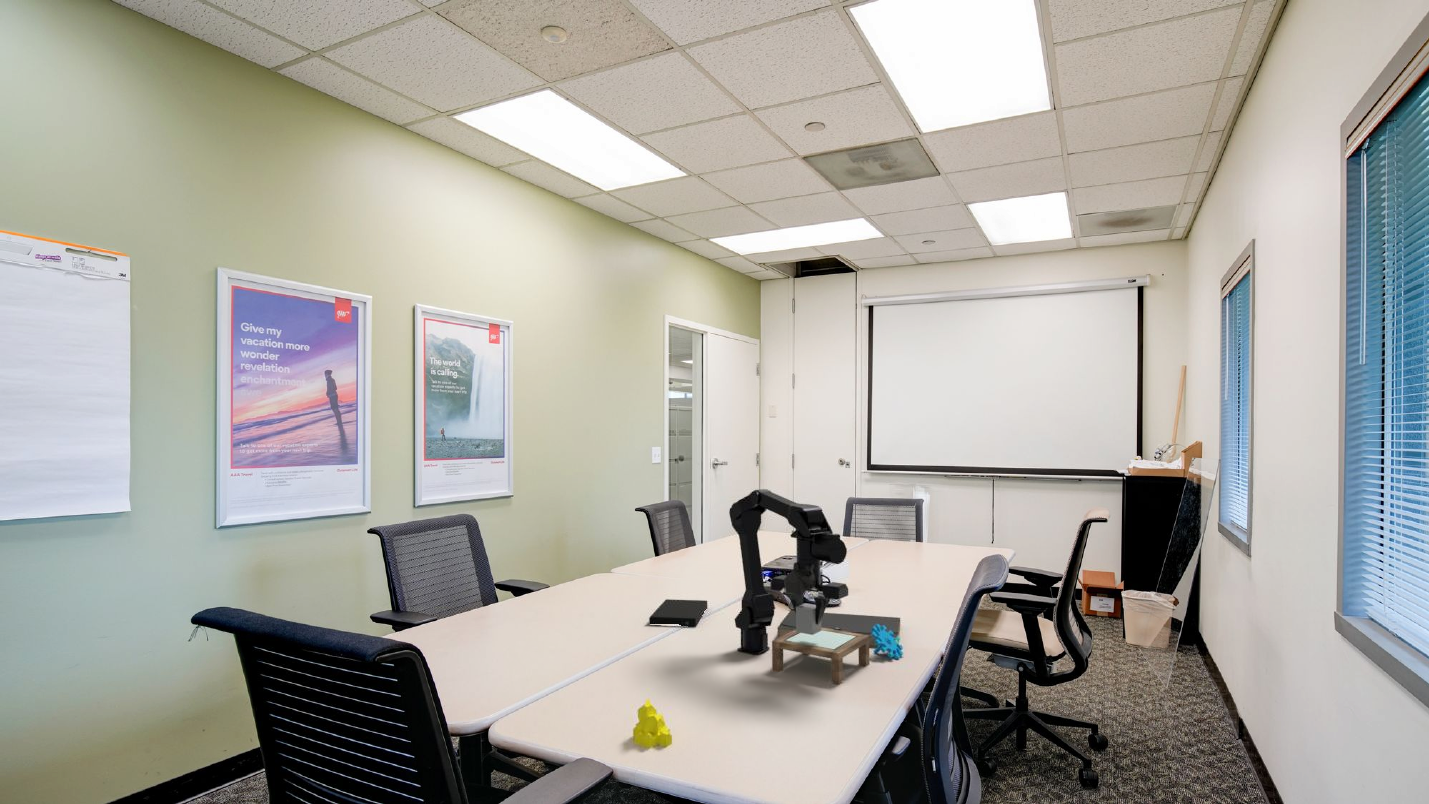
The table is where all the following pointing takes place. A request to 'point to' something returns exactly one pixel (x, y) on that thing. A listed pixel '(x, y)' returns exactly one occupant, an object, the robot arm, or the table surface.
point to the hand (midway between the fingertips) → (808, 622)
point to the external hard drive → (679, 612)
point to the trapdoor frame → (823, 652)
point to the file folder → (846, 624)
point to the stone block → (807, 619)
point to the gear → (886, 641)
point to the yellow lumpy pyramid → (651, 728)
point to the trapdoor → (822, 639)
